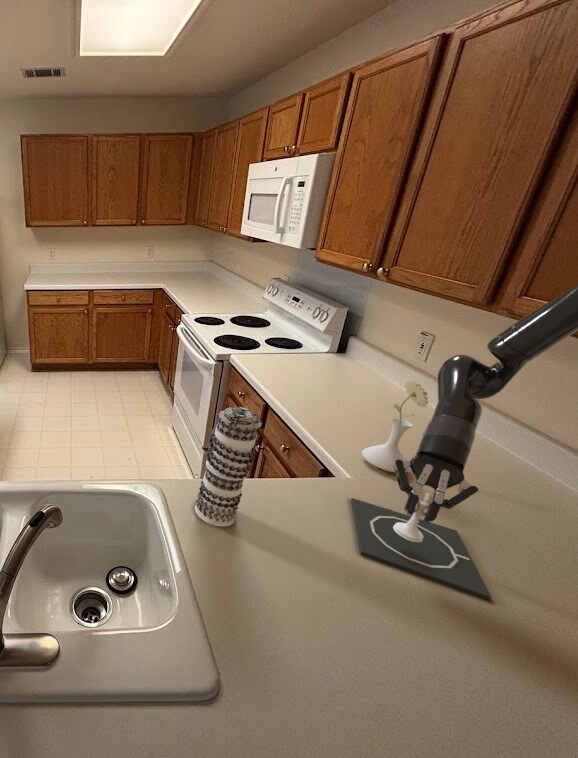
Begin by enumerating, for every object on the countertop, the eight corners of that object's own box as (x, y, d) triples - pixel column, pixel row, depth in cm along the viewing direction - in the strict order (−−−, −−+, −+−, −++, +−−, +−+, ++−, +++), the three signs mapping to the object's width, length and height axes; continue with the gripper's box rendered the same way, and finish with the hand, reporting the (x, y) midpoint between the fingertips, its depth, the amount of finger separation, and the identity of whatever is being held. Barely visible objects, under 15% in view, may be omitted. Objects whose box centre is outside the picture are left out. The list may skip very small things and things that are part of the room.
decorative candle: (203, 494, 96) (227, 397, 87) (242, 513, 91) (272, 413, 82) (185, 512, 90) (209, 410, 80) (226, 534, 84) (257, 427, 75)
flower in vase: (413, 482, 109) (453, 396, 99) (363, 468, 113) (397, 385, 104) (400, 459, 120) (436, 380, 111) (355, 447, 124) (386, 370, 115)
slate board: (455, 533, 91) (456, 530, 90) (489, 600, 74) (491, 597, 74) (350, 500, 99) (352, 497, 98) (360, 554, 82) (361, 550, 82)
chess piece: (420, 531, 84) (441, 492, 80) (424, 546, 80) (446, 505, 77) (391, 521, 87) (411, 482, 83) (394, 535, 83) (414, 495, 79)
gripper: (408, 422, 85) (379, 495, 81) (499, 449, 77) (471, 533, 73) (401, 436, 91) (373, 505, 87) (484, 462, 83) (458, 540, 79)
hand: (418, 517), depth 80 cm, fingers closed on chess piece
